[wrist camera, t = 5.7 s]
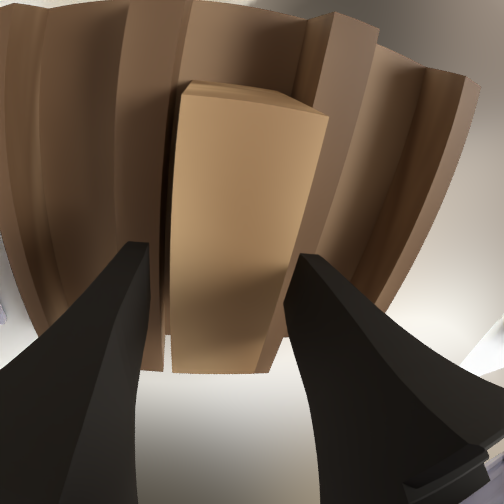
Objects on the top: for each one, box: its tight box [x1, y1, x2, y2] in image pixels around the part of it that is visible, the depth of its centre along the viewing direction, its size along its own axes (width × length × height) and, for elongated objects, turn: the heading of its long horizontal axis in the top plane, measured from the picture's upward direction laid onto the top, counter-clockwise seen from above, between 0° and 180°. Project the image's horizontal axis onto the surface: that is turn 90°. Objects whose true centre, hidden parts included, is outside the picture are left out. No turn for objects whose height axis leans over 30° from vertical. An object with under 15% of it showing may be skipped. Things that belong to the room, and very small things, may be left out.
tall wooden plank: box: [170, 80, 329, 374], centre depth 10 cm, size 3×9×5 cm, turn 170°
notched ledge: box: [0, 0, 481, 373], centre depth 11 cm, size 17×16×3 cm
